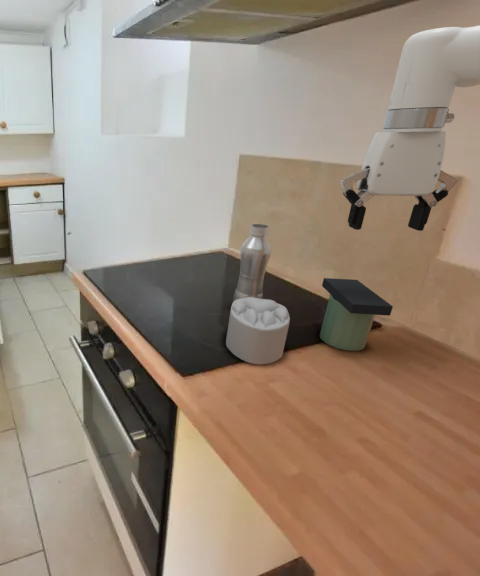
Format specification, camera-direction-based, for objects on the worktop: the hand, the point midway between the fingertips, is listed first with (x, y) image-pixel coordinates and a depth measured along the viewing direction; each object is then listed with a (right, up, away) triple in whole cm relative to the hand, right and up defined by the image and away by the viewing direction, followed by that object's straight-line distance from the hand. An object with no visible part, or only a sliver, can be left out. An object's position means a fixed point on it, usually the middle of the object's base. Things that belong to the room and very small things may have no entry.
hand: (384, 228), depth 66 cm
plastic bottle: (-15, -16, +23) cm, 32 cm away
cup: (-1, -21, +10) cm, 23 cm away
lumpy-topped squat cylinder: (-20, -22, +8) cm, 31 cm away
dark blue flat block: (-1, -13, +6) cm, 14 cm away
